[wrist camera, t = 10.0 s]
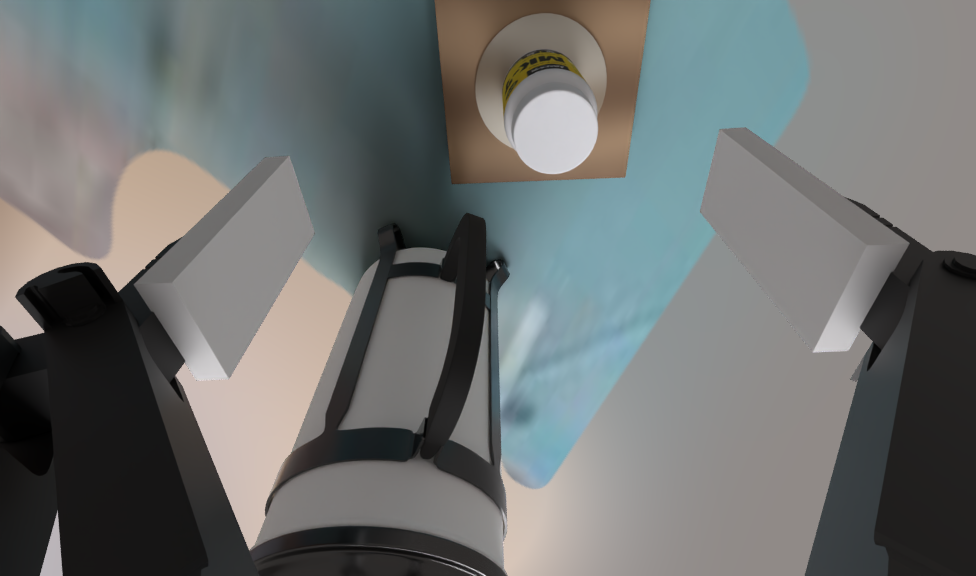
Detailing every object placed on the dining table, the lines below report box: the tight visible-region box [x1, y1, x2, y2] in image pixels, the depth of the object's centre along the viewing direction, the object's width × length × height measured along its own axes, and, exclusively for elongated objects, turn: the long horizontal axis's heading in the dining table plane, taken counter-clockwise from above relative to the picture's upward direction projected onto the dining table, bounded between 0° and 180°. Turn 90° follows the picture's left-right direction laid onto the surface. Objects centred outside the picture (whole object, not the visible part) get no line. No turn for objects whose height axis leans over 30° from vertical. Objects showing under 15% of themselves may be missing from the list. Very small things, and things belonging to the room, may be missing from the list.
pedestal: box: [435, 0, 651, 184], centre depth 29 cm, size 12×12×3 cm
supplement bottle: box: [502, 49, 598, 174], centre depth 25 cm, size 5×5×8 cm
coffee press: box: [249, 213, 510, 576], centre depth 28 cm, size 17×16×30 cm
